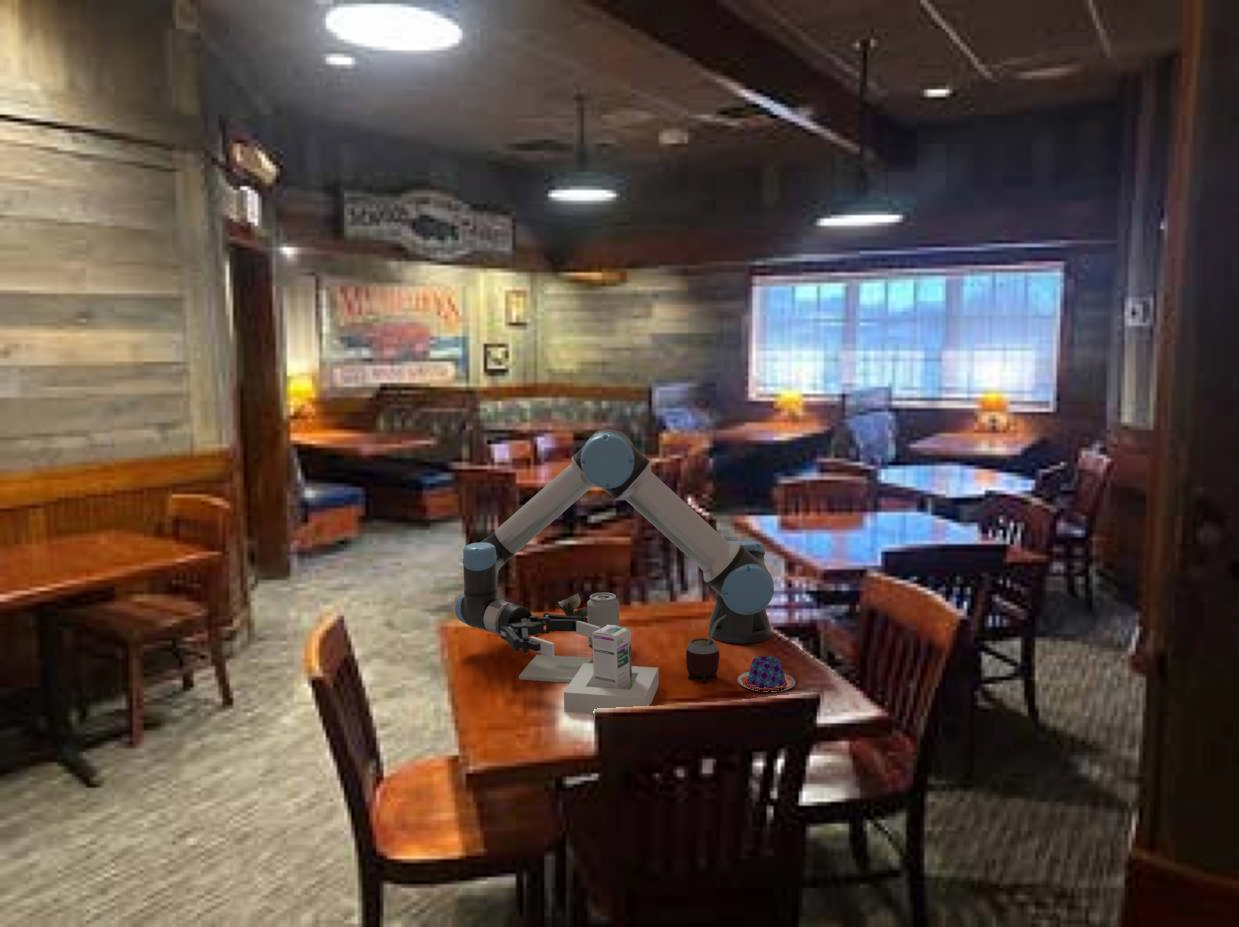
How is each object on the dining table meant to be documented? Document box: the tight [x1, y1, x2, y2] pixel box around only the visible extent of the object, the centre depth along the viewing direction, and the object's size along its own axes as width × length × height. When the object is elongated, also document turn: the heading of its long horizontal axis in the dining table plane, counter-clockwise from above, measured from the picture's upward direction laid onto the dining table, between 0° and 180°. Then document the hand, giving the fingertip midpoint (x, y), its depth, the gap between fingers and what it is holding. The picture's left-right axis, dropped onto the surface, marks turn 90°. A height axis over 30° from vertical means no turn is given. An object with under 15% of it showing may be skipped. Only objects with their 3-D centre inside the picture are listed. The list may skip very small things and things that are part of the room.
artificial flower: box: [544, 593, 588, 627], centre depth 225 cm, size 9×22×10 cm, turn 126°
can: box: [586, 592, 620, 647], centre depth 212 cm, size 8×8×12 cm
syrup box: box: [592, 625, 633, 690], centre depth 180 cm, size 6×6×14 cm
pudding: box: [737, 655, 796, 693], centre depth 188 cm, size 12×12×5 cm
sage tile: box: [518, 654, 593, 684], centre depth 197 cm, size 13×13×1 cm
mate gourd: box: [685, 615, 727, 685], centre depth 190 cm, size 8×8×15 cm
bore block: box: [563, 662, 659, 715], centre depth 181 cm, size 16×16×4 cm
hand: (576, 641), depth 186 cm, fingers open, 13 cm apart
